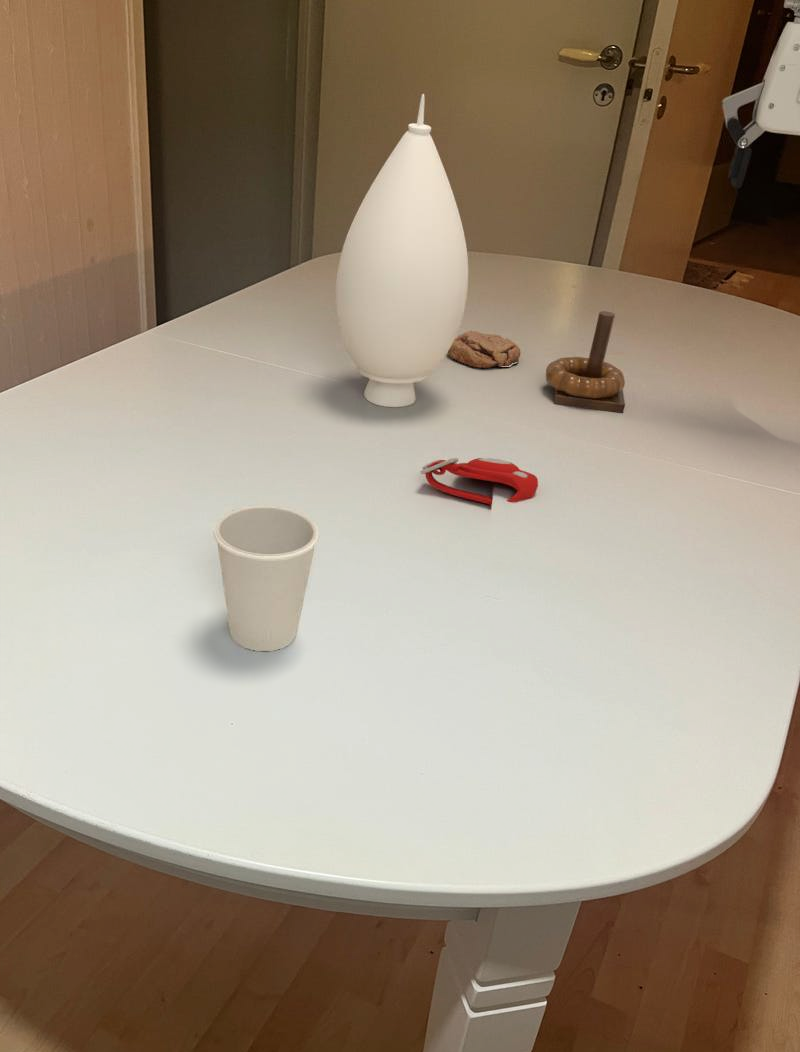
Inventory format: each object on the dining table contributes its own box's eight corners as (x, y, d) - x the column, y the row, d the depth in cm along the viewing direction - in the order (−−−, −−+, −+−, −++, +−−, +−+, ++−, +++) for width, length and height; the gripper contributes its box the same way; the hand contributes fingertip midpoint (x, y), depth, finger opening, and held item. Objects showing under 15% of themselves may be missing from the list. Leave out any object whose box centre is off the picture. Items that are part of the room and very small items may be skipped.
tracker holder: (493, 454, 111) (559, 468, 103) (486, 492, 112) (551, 509, 104) (414, 450, 103) (479, 465, 96) (408, 491, 105) (472, 509, 97)
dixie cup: (223, 599, 85) (223, 499, 79) (317, 609, 85) (324, 509, 79) (205, 655, 78) (203, 550, 72) (306, 666, 78) (313, 561, 72)
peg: (619, 388, 134) (640, 307, 127) (623, 413, 126) (645, 328, 120) (554, 380, 135) (571, 299, 128) (554, 403, 128) (572, 319, 121)
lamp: (421, 372, 134) (458, 85, 113) (469, 417, 122) (520, 105, 101) (314, 378, 130) (331, 81, 109) (352, 426, 118) (380, 102, 97)
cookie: (529, 369, 138) (533, 348, 136) (460, 371, 135) (464, 350, 134) (502, 345, 146) (506, 325, 144) (437, 347, 143) (439, 327, 141)
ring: (619, 378, 134) (623, 359, 132) (624, 405, 125) (629, 386, 124) (544, 368, 135) (547, 350, 133) (544, 395, 126) (548, 376, 125)
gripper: (755, 4, 96) (705, 188, 106) (938, 18, 94) (868, 205, 104) (744, 1, 102) (697, 176, 112) (915, 15, 100) (851, 192, 110)
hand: (779, 190), depth 108 cm, fingers open, 9 cm apart
